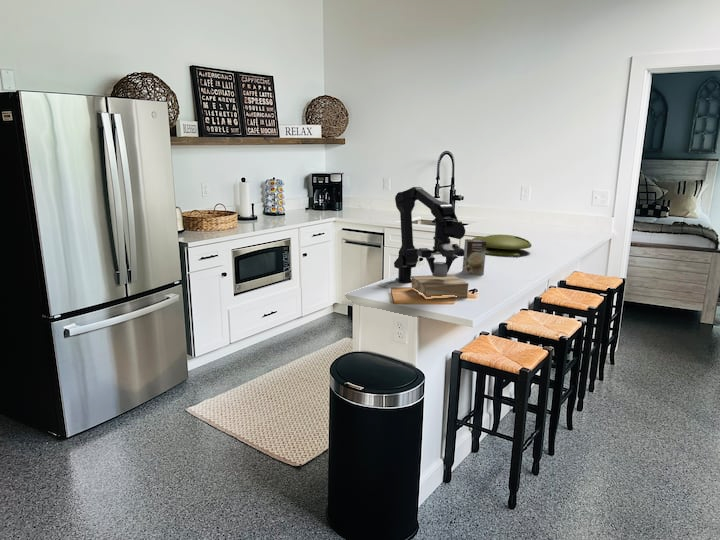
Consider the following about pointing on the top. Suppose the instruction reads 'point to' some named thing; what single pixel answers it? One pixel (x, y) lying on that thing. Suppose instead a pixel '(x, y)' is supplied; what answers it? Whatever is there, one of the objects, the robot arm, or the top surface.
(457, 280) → the lid
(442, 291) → the box
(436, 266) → the grey domed cylinder
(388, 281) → the top surface
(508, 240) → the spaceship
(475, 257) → the coffee box
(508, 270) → the top surface
